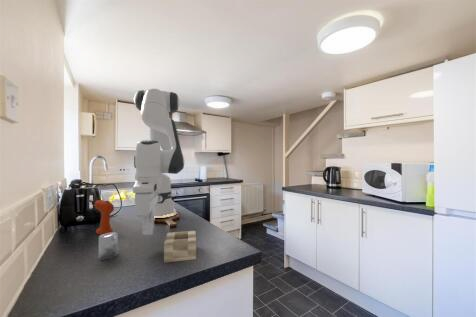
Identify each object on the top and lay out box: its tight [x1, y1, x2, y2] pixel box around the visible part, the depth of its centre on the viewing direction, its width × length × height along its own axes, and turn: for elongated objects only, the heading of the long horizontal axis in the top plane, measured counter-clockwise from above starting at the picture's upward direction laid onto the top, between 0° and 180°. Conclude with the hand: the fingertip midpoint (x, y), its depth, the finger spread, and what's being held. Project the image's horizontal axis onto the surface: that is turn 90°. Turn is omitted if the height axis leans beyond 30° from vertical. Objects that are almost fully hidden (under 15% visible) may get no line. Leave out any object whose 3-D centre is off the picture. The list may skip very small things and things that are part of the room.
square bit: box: [141, 208, 155, 236], centre depth 74 cm, size 3×3×10 cm
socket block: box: [163, 230, 197, 264], centre depth 70 cm, size 10×10×6 cm
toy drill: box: [86, 199, 115, 235], centre depth 92 cm, size 5×19×15 cm, turn 65°
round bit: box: [98, 231, 119, 261], centre depth 68 cm, size 6×6×7 cm
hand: (148, 221), depth 74 cm, fingers closed on square bit, 3 cm apart
